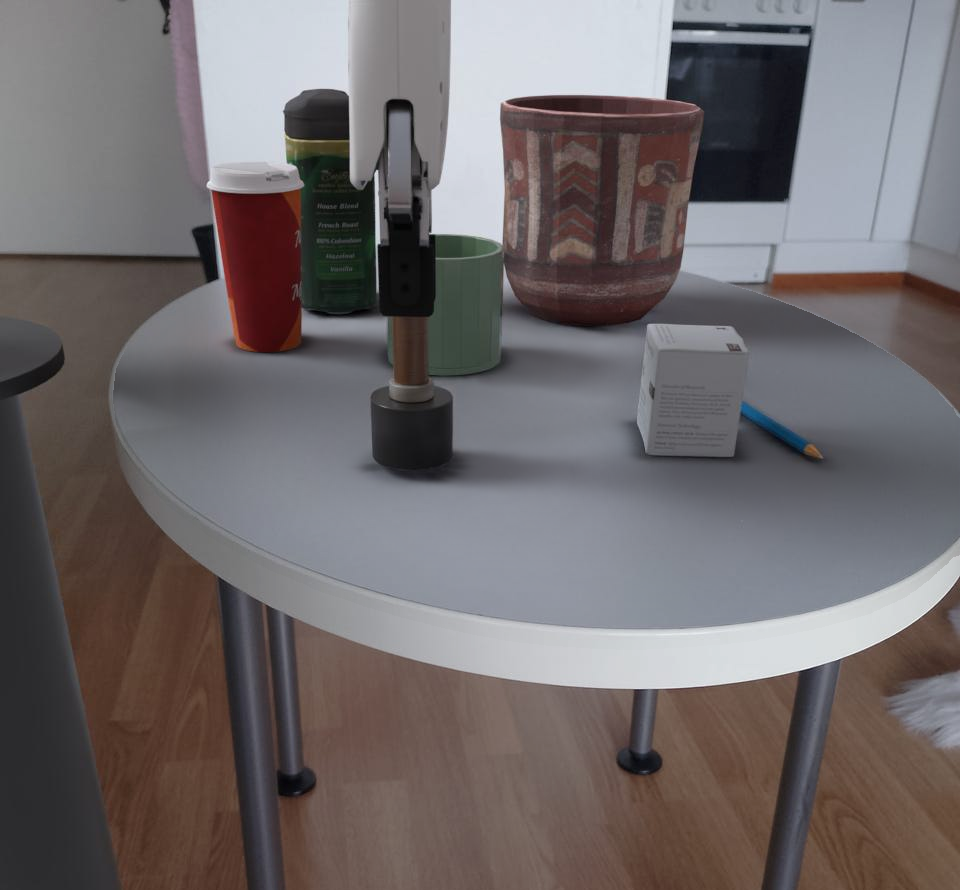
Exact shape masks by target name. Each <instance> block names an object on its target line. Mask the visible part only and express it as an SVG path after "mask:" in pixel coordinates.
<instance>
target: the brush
mask: <svg viewBox="0 0 960 890" xmlns="http://www.w3.org/2000/svg"><path fill="white" fill-rule="evenodd" d="M392 330H393V365H392V368H393V370H392V371H393V376H392V377H390V378H389V380H388V385H385V386H382V387H380V388H377V389H375V390H374V391H373V392H372V393H371V394H370V397H369V398H370V399H369V401H370V403H369V404H370V428H371V429H370V430H371V450H372V451H371V452H372V453H371V455H372V459H373V460H374V461H375V462H376V463H377V464H379V465H380V466H382V467H385V468H388V469H392V470H398V471H410V472H412V471H413V472H415V471H426V470H432V469H436V468H439V467H442V466H444V465H446V464H448V463H449V462H450V461H451V460H452V458H453V456H454V452H453V451H454V450H453V449H454V447H453V446H454V444H453V443H454V395H453V393H451V391H450V390H448V389H446V388H445V387H442V386H438V385H435V382H434V378H433V377H430V375H429V317H392Z"/></svg>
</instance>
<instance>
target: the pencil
mask: <svg viewBox="0 0 960 890" xmlns="http://www.w3.org/2000/svg"><path fill="white" fill-rule="evenodd" d="M740 415H742V416H744V417H746V418H747V419H749V420H750V421H752V422H754V423H755V424H757V425H758V426H760V427H762V428H763V429H765V430H766V431H768V432H770V433H771V434H773V435H774V436H776V438H777V437H778V439H780V440H782V441H783V442H785V443H786V444H788V445H789V446H791V447H792V448H794V449H796V450H798V451H799V452H800V453H802V454H804V455H805V456H806V455H807V456H810V457H814V458H818V459H824V457H823V455H822V454H821V452H820V451H819V450H818V449H817V448H816V447H815V445H814V444H813V443H812V442H810V441H808V440H806V439H805V438H804V437H802V436H800V435H799V434H797V433H795V432H793V431H792V430H791V429H789V428H787V427H786V426H784V425H782V424H781V423H779V422H777V421H776V420H774V419H773V418H771V417H769V416H768V415H766V414H765V413H763V412H761V411H760V410H758V409H757V408H755V407H753V406H751V405H750V404H749V403H747V402H746V401H744V400H742V406H741V412H740Z"/></svg>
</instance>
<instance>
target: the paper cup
mask: <svg viewBox="0 0 960 890" xmlns="http://www.w3.org/2000/svg"><path fill="white" fill-rule="evenodd" d="M209 173H210V174H209V175H210V177H209V180H208V181H207V183H206V188H207V189H209V190H210V191H211V197H212V204H213V210H214V217H215V223H216V230H217V231H216V232H217V237H218V243H219V249H220V255H221V260H222V261H221V262H222V268H223V275H224V281H225V288H226V293H227V299H228V306H229V313H230V319H231V324H232V330H233V335H234V340H235V344H236V346H237V348H239V349H241V350H243V351H247V352H252V353H253V352H254V353H279V352H285V351H289V350H293V349H295V348H297V347H299V346H300V345H301V343H302V331H303V330H302V329H303V327H302V325H303V324H302V323H303V322H302V321H303V319H302V318H303V313H302V312H303V311H302V310H303V308H302V287H301V189H300V188H302V187H304V183H303V181H302V180H300V177H299V172H298V169H297V167H296V166H294V165H290V164H287V163H283V162H273V161H238V162H228V163H221V164H217V165H214V166H212V167H211V168H210V172H209Z"/></svg>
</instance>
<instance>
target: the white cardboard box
mask: <svg viewBox="0 0 960 890" xmlns="http://www.w3.org/2000/svg"><path fill="white" fill-rule="evenodd" d="M750 355H751V353H750V351H749V349H748V348H747V346H746V344H745V342H744V339H743V337H742V336H740V334H739V333H738V332H737V330H736V329H735V328H734V326H731V325H697V324H694V325H693V324H677V323H676V324H675V323H674V324H673V323H648V324H647V326H646V335H645V346H644V353H643V360H642V361H643V362H642V371H641V380H640V388H639V397H638V407H637V417H636V424H637V427H638V429H639V432H640V435H641V438H642V441H643V445H644V451H645V454H647V455H649V456H657V457H658V456H660V457H703V458H705V457H706V458H712V457H713V458H733V457H734V456H735V453H736V444H737V438H738V432H739V425H740V420H741V419H740V418H741V413H740V412H741V406H742V401H744V400H743V399H744V393H745V387H746V381H747V373H748V367H749V360H750Z"/></svg>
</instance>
